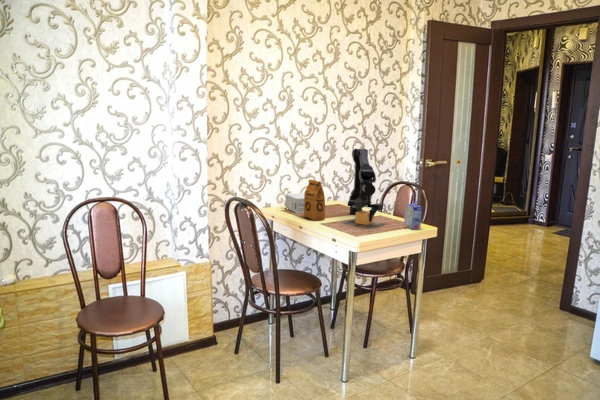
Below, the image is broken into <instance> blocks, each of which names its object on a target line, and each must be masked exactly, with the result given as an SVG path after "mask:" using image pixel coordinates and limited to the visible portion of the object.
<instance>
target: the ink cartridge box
mask: <svg viewBox="0 0 600 400" xmlns="http://www.w3.org/2000/svg"><path fill="white" fill-rule="evenodd" d="M418 203H419V201H418V200H414V201H413V203H405V209H404V221H403V225H405V226H406V227H407V228H408V229H410V230H421V224H422V223H421V222H422V214H423V213H422V212H423V206H420V205H419V204H418Z"/></svg>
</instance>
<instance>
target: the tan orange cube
mask: <svg viewBox="0 0 600 400" xmlns="http://www.w3.org/2000/svg"><path fill="white" fill-rule="evenodd" d="M369 218H370V211H369V210H363V209H362V211H358V212H356V215H355V218H354V219H355V223H357V224H363V225H369V224H372V223H373V222H374V218H373V219H372V221H371V222H370V221H369Z"/></svg>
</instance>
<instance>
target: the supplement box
mask: <svg viewBox="0 0 600 400" xmlns="http://www.w3.org/2000/svg"><path fill="white" fill-rule="evenodd" d="M304 193H305V192H304ZM304 193H300V192H299V193H286V194H285V205H284V207H286V208H288V209H290V210H292V211H291V212H293V211H294V212H293V213H295V212H296V213H295V214H303V213H302V212H304ZM286 208H285V209H286ZM288 209H287V210H288ZM290 210H289V211H290Z"/></svg>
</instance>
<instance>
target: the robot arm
mask: <svg viewBox="0 0 600 400" xmlns="http://www.w3.org/2000/svg"><path fill="white" fill-rule="evenodd" d="M368 154H369V150H368V149H366V148H354V149H353V150H352V151H351V158H352V161H353V162H354V174H353V175H354V177H353V179H354V180H353V189H352V190H351V192H350V195H349V197H348V202H347V207H349V214H351V215H352V216H353V215H354V216H356V212H358V211H362V210H363V208H370V209H369V210H368V211H369V212H370V218H369V221H370V222H371V221H372V219H373V220H374V217H375V215H376V214H377V212H378V211H379V212H380V211H381V210H383V209H384V205H383V204H382V203H373V202H372V201H371V200H372V197H373V195H374V194H375V192H376V186H375V185H373V183H376V180H377V177H376V173H375V171H374V168H373V167H372V165H370V162H369V158H368V156H369V155H368Z"/></svg>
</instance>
